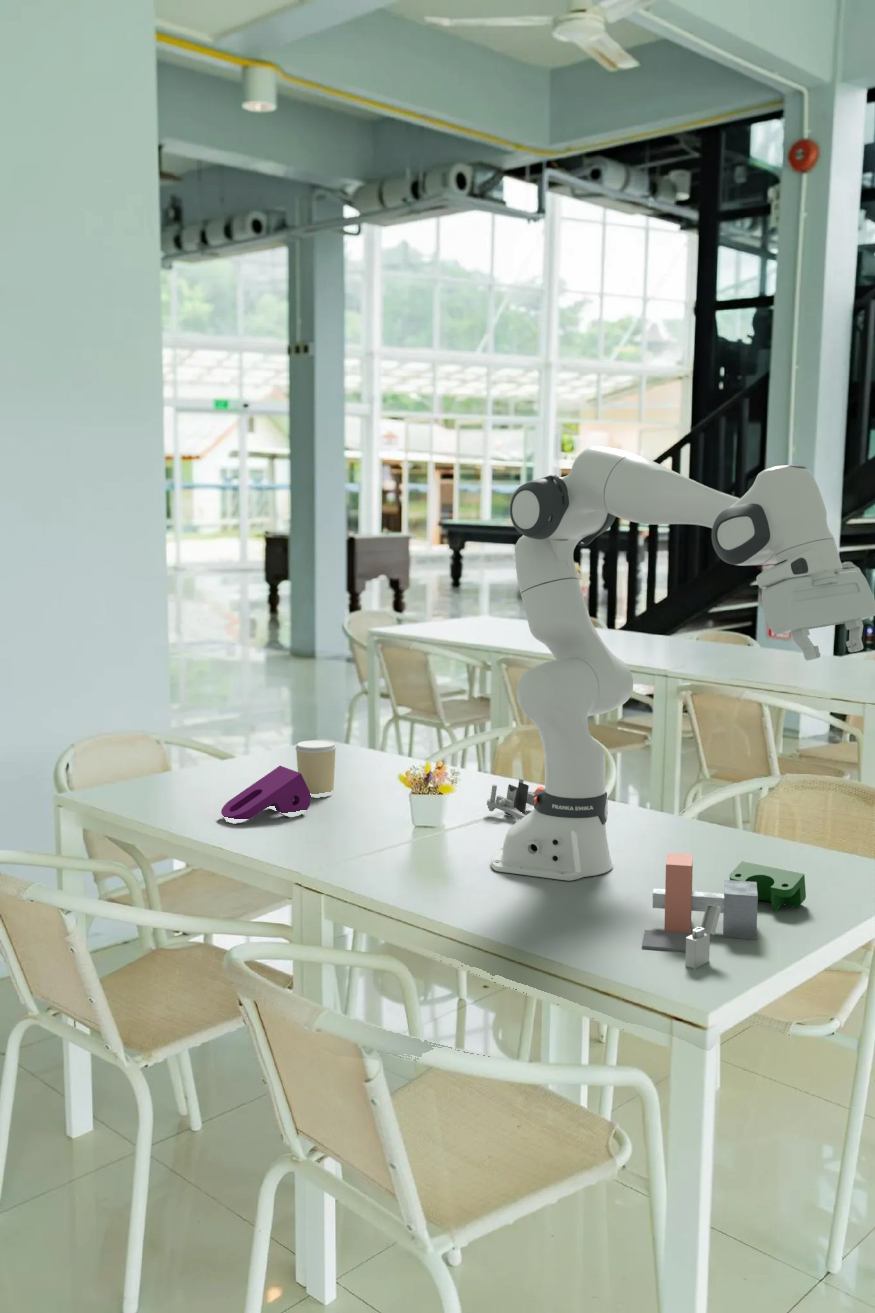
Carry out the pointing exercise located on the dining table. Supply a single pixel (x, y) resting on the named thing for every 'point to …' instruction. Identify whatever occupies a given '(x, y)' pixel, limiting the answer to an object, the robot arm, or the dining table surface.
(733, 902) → the vise
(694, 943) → the lighter
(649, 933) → the mat
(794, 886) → the clamp
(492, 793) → the bike brake
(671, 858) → the tall salmon pink brick
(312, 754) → the coffee cup
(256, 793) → the mounting bracket
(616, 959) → the dining table surface
